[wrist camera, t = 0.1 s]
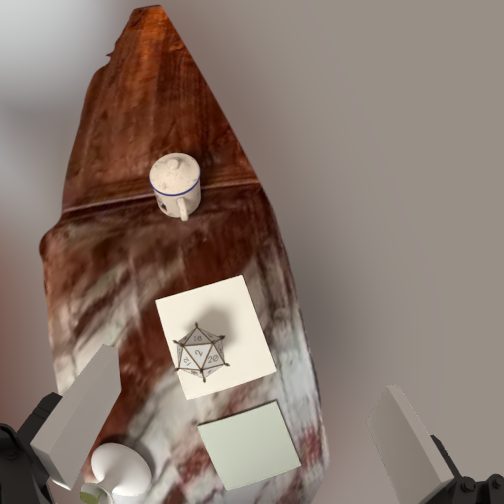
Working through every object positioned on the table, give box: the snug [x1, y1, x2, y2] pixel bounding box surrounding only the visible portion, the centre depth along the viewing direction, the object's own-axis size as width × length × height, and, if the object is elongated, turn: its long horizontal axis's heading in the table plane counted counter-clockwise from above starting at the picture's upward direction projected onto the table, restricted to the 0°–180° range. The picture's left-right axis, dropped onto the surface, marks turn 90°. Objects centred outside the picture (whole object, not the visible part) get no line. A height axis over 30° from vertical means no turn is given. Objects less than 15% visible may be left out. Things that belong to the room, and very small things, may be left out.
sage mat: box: [197, 401, 301, 491], centre depth 40 cm, size 14×14×1 cm
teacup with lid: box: [149, 153, 201, 221], centre depth 49 cm, size 12×9×12 cm
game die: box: [172, 322, 230, 383], centre depth 41 cm, size 9×8×10 cm
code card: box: [156, 275, 277, 400], centre depth 47 cm, size 18×16×1 cm
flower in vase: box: [56, 443, 152, 504], centre depth 24 cm, size 13×11×25 cm
